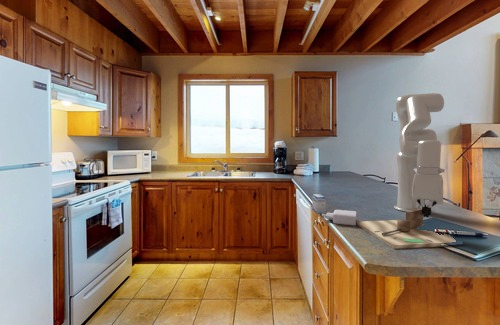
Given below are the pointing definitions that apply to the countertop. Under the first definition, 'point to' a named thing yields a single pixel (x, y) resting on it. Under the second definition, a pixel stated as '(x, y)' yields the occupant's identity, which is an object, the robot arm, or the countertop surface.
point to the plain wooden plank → (409, 221)
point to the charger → (342, 217)
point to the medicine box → (318, 204)
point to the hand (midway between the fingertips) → (426, 216)
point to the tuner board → (404, 235)
